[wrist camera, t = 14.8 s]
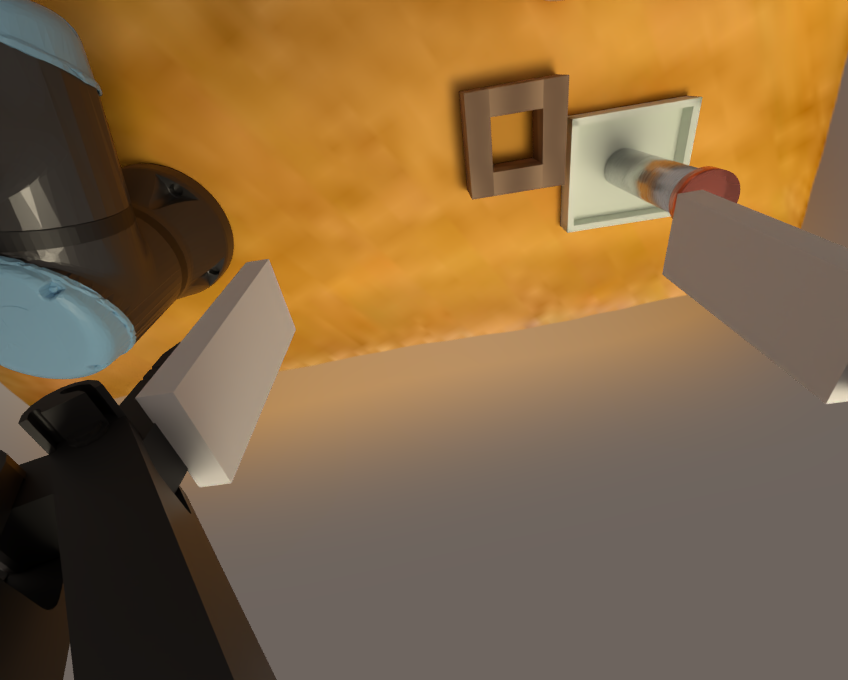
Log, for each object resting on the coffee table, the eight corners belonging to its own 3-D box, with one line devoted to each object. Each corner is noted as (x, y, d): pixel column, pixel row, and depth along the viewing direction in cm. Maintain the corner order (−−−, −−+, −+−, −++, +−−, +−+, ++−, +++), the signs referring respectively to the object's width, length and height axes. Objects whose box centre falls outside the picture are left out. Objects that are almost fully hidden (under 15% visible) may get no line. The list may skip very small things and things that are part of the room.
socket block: (467, 190, 48) (472, 199, 45) (459, 91, 42) (463, 93, 39) (553, 176, 47) (564, 184, 44) (556, 74, 42) (569, 74, 39)
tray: (560, 225, 51) (567, 232, 48) (564, 116, 44) (572, 119, 42) (667, 208, 50) (679, 215, 48) (687, 95, 43) (702, 96, 41)
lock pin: (599, 192, 48) (674, 234, 35) (602, 147, 45) (684, 175, 32) (640, 185, 47) (731, 225, 34) (646, 140, 45) (747, 164, 32)
